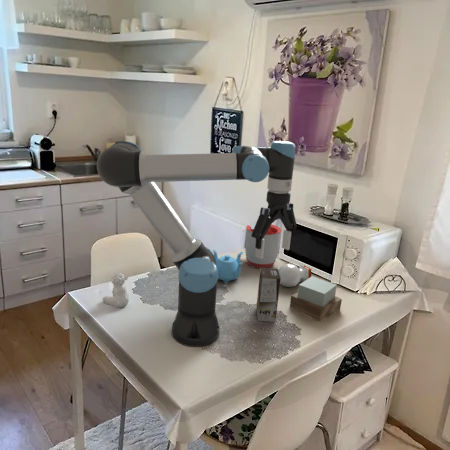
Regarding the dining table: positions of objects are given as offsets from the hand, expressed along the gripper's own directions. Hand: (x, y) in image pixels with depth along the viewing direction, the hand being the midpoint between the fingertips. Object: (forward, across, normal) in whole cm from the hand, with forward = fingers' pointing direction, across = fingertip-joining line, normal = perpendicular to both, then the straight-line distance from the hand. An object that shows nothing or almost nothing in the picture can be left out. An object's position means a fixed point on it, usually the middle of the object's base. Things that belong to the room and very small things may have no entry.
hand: (272, 253), depth 143 cm
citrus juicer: (+24, +33, +33) cm, 52 cm away
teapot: (+23, +9, +30) cm, 39 cm away
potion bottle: (+24, +28, +10) cm, 38 cm away
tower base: (+24, +18, -8) cm, 31 cm away
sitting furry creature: (+23, -36, +37) cm, 57 cm away
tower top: (+19, +18, -8) cm, 27 cm away
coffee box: (+24, 0, 0) cm, 24 cm away
